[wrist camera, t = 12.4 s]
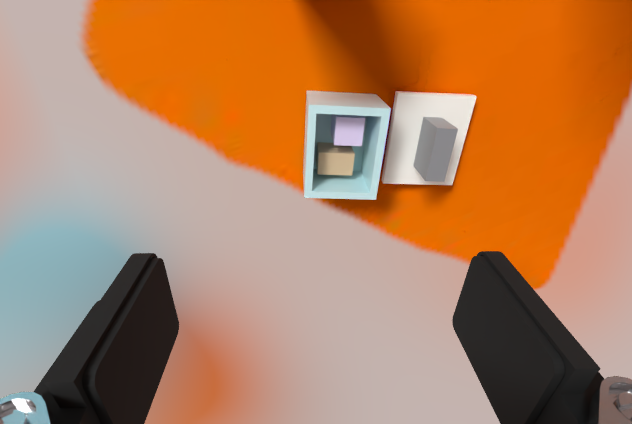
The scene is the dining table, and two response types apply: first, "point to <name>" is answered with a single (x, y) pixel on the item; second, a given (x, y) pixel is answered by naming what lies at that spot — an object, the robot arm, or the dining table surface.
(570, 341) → the robot arm
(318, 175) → the tub
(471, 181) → the dining table surface
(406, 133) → the lid
